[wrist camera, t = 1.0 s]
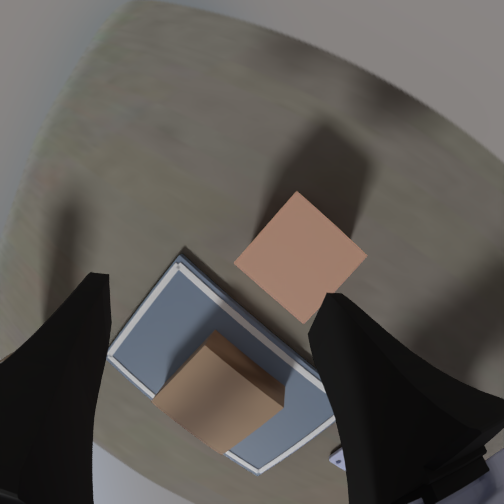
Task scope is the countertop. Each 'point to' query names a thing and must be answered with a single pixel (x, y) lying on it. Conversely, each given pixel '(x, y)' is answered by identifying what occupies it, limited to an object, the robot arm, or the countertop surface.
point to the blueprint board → (240, 335)
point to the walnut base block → (220, 394)
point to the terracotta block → (300, 257)
